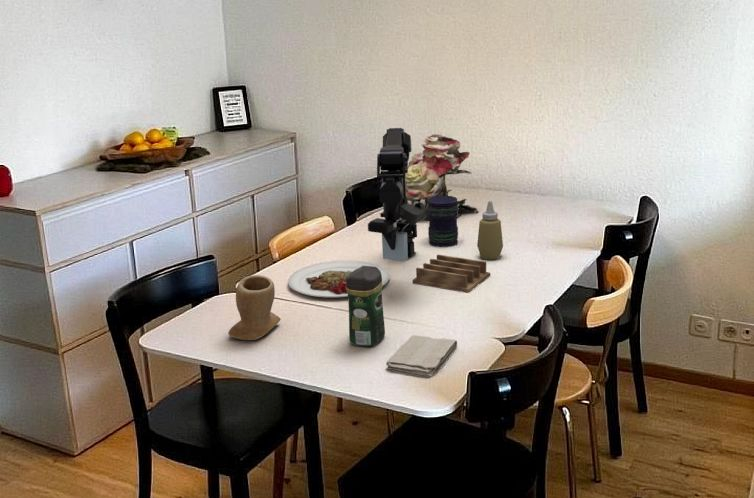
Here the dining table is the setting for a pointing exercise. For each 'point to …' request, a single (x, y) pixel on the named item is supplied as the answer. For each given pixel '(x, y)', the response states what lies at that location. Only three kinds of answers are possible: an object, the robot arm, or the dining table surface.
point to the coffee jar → (365, 306)
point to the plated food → (328, 278)
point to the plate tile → (396, 248)
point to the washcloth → (421, 356)
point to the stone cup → (254, 308)
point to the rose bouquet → (434, 171)
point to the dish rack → (452, 273)
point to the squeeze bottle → (490, 234)
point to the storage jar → (443, 221)
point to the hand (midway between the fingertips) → (395, 248)
